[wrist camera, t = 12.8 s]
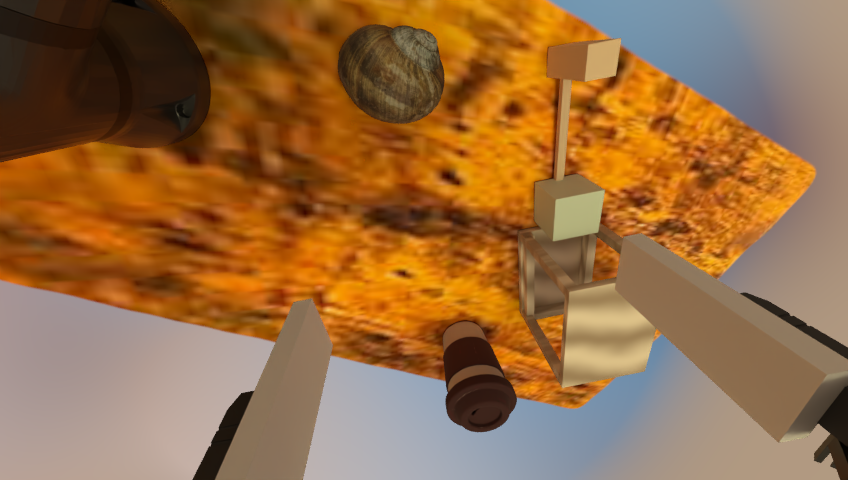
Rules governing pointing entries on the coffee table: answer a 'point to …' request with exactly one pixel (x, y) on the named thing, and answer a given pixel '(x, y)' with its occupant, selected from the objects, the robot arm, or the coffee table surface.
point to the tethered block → (566, 195)
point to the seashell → (392, 72)
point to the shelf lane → (554, 276)
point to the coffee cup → (475, 380)
